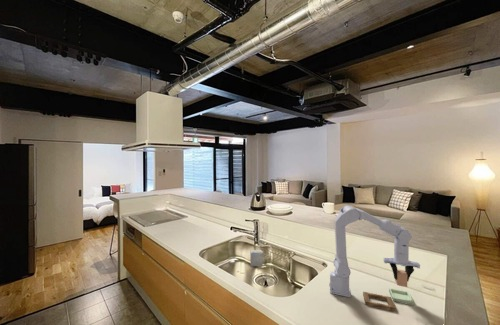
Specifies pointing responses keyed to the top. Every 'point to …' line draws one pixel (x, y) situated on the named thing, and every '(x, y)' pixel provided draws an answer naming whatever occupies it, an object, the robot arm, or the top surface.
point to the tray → (401, 296)
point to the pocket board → (378, 305)
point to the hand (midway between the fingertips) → (401, 279)
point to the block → (401, 278)
